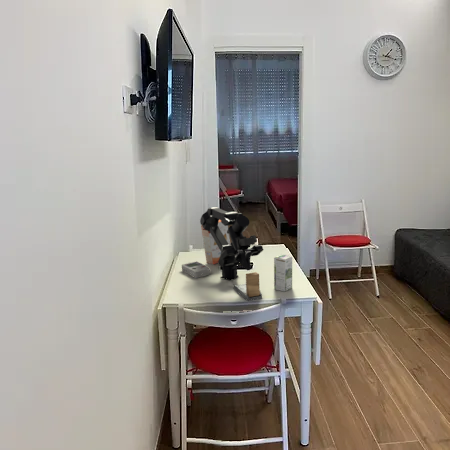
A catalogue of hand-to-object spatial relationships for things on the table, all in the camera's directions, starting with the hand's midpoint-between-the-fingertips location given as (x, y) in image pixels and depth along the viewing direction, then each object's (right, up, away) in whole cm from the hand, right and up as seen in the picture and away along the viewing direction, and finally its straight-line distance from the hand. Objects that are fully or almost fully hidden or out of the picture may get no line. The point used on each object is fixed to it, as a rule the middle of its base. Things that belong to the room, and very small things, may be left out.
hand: (248, 270), depth 186 cm
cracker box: (-13, +1, +46) cm, 47 cm away
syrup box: (+15, -8, +3) cm, 17 cm away
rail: (-1, -10, -1) cm, 10 cm away
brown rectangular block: (+1, -9, -7) cm, 12 cm away
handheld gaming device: (-24, -5, +29) cm, 38 cm away
